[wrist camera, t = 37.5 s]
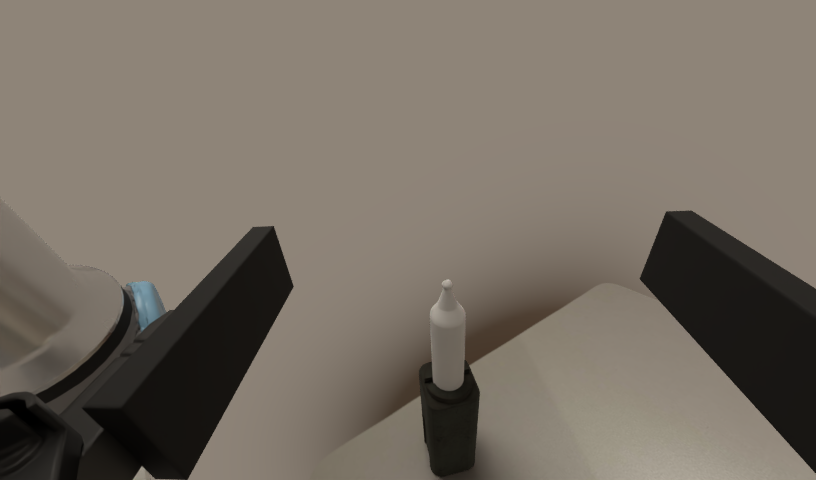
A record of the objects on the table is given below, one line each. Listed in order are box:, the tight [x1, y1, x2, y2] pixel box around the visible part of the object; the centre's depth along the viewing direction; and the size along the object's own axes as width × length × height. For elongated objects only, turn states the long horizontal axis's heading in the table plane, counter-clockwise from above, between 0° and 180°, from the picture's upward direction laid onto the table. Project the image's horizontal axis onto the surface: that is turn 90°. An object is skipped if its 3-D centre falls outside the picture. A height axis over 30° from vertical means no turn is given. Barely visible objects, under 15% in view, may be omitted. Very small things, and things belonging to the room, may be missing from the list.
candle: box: [419, 280, 480, 477], centre depth 31 cm, size 5×5×25 cm
